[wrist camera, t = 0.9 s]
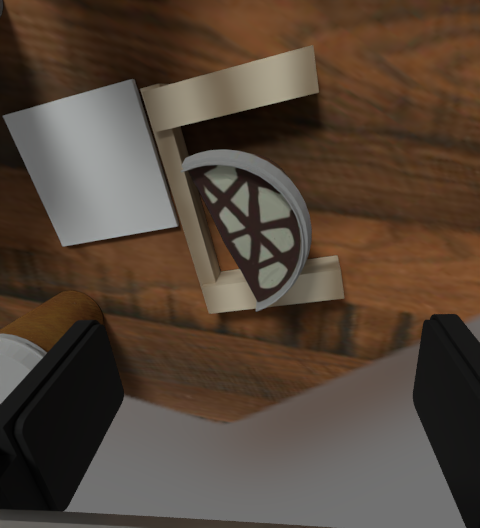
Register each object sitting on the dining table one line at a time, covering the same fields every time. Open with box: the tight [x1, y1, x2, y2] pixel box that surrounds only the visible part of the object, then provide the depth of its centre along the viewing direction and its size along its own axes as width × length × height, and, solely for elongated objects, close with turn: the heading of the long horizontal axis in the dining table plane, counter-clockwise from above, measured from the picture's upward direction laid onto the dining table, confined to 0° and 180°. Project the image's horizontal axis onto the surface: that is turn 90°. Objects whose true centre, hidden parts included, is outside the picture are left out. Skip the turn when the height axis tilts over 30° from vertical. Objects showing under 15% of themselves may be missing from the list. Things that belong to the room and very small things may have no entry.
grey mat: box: [3, 79, 179, 246], centre depth 34 cm, size 13×13×1 cm
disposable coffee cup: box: [0, 291, 103, 404], centre depth 37 cm, size 10×10×12 cm
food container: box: [180, 149, 312, 312], centre depth 28 cm, size 12×6×10 cm, turn 26°
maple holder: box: [140, 45, 344, 314], centre depth 31 cm, size 13×21×3 cm, turn 13°
